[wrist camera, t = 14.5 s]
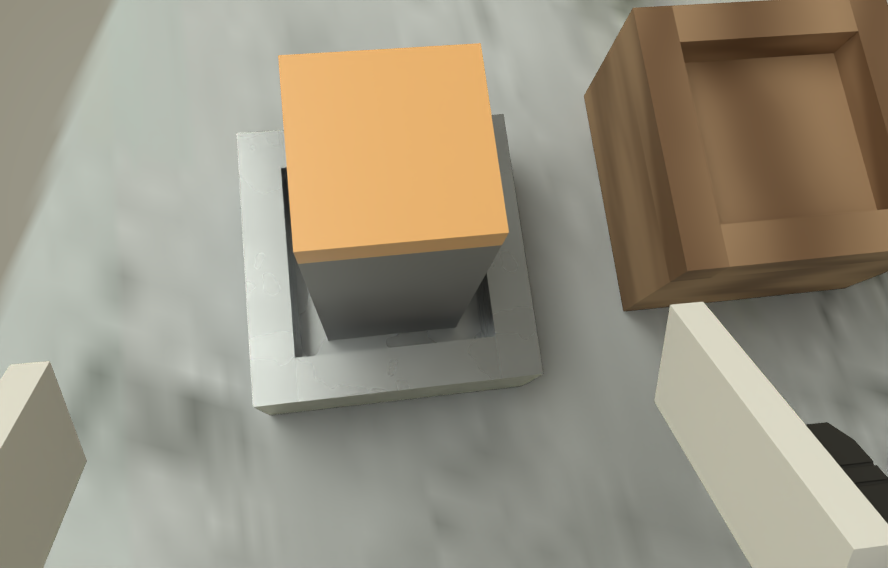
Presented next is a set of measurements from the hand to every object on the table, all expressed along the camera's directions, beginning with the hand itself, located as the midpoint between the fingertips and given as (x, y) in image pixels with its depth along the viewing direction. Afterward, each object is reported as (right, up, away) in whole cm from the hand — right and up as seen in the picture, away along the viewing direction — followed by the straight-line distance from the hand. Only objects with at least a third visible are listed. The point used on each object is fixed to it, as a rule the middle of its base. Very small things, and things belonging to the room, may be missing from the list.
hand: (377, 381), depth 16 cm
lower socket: (-1, +2, +14) cm, 14 cm away
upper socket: (+13, +6, +16) cm, 22 cm away
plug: (-1, +3, +13) cm, 13 cm away
